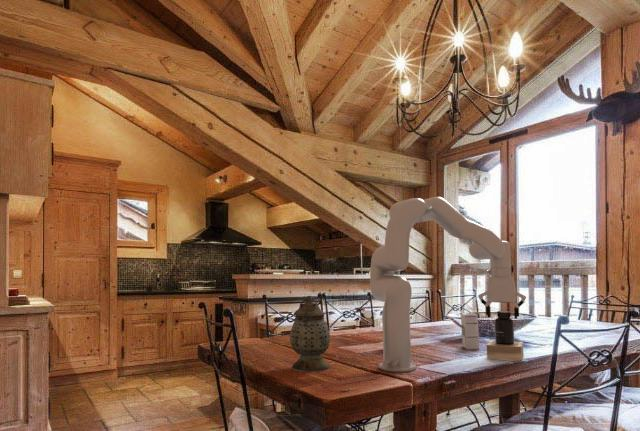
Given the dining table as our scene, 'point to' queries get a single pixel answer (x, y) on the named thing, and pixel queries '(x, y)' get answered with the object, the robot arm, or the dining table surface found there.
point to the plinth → (505, 351)
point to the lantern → (309, 337)
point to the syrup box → (470, 330)
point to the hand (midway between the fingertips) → (502, 317)
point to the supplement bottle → (504, 328)
